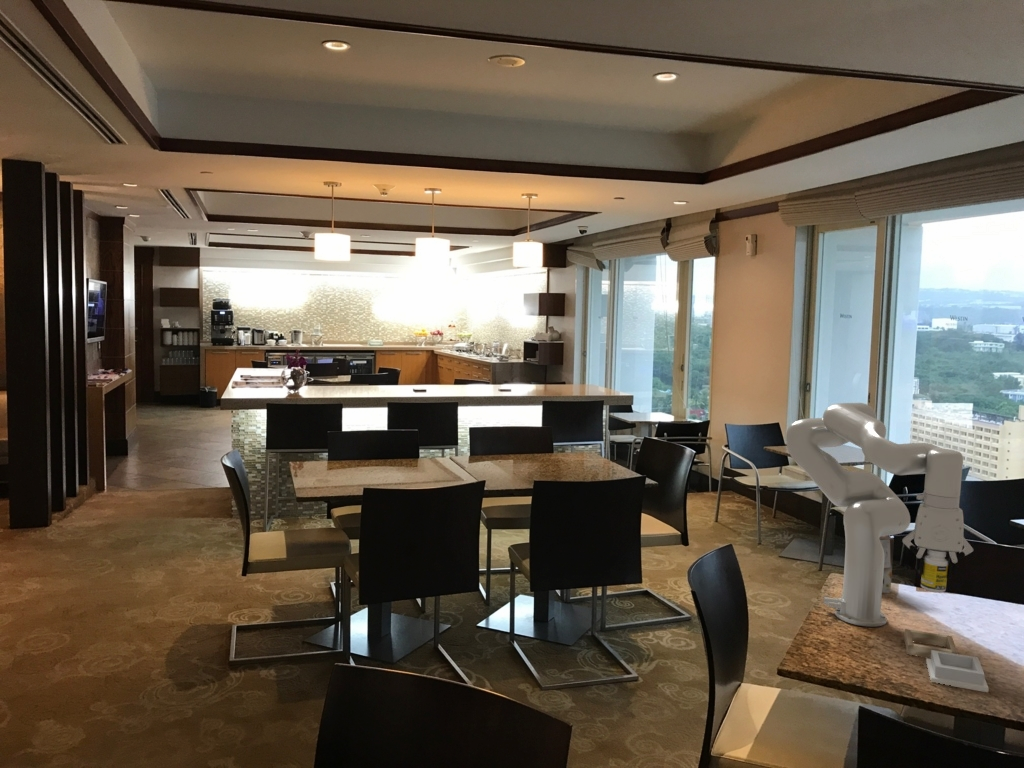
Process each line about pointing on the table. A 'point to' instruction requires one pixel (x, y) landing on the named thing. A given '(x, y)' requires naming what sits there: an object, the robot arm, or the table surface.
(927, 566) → the supplement bottle
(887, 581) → the coffee box
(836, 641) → the table surface
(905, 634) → the beige square frame
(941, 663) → the socket
